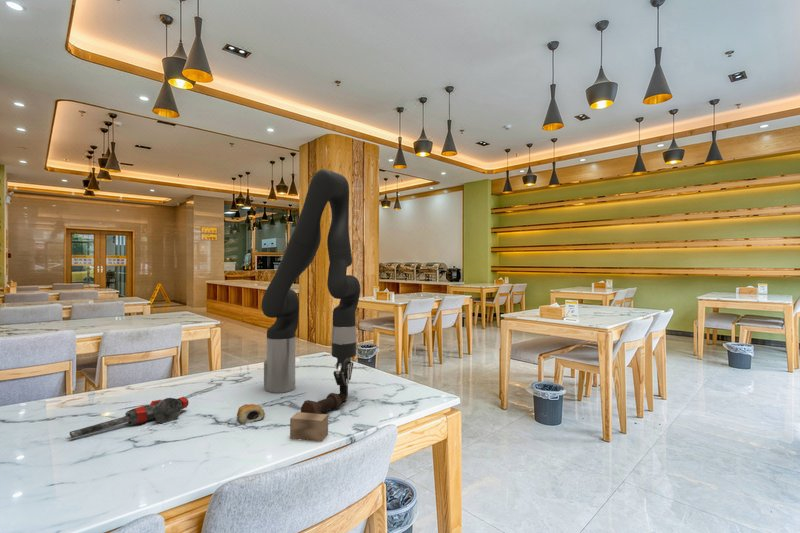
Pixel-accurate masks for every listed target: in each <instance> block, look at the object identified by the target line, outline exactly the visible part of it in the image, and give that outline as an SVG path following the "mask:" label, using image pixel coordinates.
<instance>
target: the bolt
mask: <svg viewBox="0 0 800 533" xmlns="http://www.w3.org/2000/svg"><path fill="white" fill-rule="evenodd" d="M347 399H348V396H347V397H346V396H345V395H344V394H343V393H340V392H339V393H336V392H335V393H334V392H331V393H329V394H328V395H327V396H326V398H324V399H321V400H319V401H314V400H310V399H309V400H308V399H307V400H305V401H304V402H303V403H302V405H301V407H300V412H301V413H315V414H323V413H324V412H327V411H329V410H332V411H337V410H339V409H340V408H341V405H344V404H346V402H347Z"/></svg>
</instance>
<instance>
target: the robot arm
mask: <svg viewBox="0 0 800 533" xmlns="http://www.w3.org/2000/svg"><path fill="white" fill-rule="evenodd" d="M328 203H329V207H330V210H331V211H330V212H331V220H330V226H329V229H328V234H327V241H326V243H327V244H326V245H327V252H328V253H327V254H328V261H329V266H328V272H327V284H326V285H327V290H328V293H329V294H330V296H331V297H332V298H333V299H336V300H339V304H337V306H335V307H334V308H333V310H332V328H331V357H333V358H335V359H337V361H336V363H335V369H336V370H334V371H333V378H334V379H335V380H334V381H335V384H336V385H337V386H339V393H343V394H344V395H345V396H346V397H347V398H348V396H349V383H350V381H351V380H352V375H353V374H352V373H353V368H354V362H353V361H352V358H354V357H356V355H357V328H356V326H357V325H356V324H357V323H356V321H357V318H356V316H357V315H356V312H357V308H358V304H359V300H360V296H361V284H360V280H359V279H358V278H357V277H356V276H354V275H351V274H347V270H348V268H349V267H350V266H351V265H352V264H353V256H352V255H353V254H352V249H351V247H352V246H351V241H350V240H351V239H350V238H351V237H350V226H349V224H350V223H349V219H350V218H349V216H350V214H349V213H350V207H349V206H350V186H349V182H348V180H347V178H346V177H345V176H344V175H342V174H341V173H338V172H336V171H335V172H334V171H332V170H329V169H326V168H322V169H319V170H318V171H316V172H315V173H314V175H313V176H312V178H311V180H310V183H309V186H308V189H307V193H306V195H305V198H304V202H303V206H302V209H301V211H300V214H299V217H298V219H297V221H296V224H295V227H294V229H293V231H292V234H291V236H290V238H289V240H288V243H287V246H286V249H285V251H284V253H283V256H282V258H281V260H280V263H279V265H278V267H277V269H276V272H275V273H274V275H273V277H272V278H271V281H270V283H269V284H268V286H267V288H266V289H265V292H264V294H263V295H262V299H261V305H260V306H261V311H262V313H263V315H264V316H265V317H267V318H271V319H272V318H273V319H274V318H275V321H274V323H273V324H272V325H271V326H269V327H268V329H267V330H266V360H264V362H263V391H266V392H269V393H275V394H277V393H287V392H291V391H293V390H295V389H296V333H297V330H298V328H299V327H298V326H299V316H300V314H299V312H300V301H299V295H298V294H297V292H296V291H295V290H293V289H291V287H292V285H293V284H294V283H295V281H296V280H297V279H298V278H299V277H301V276H300V275H302V274H303V273H304V272H305V271H306V270H307V268H308V267H309V266H310V265H311V263H313V261H314V258H315V257H316V255H317V252H318V251H319V250H318V249H319V248H320V245H321V242H322V241H321V240H322V233H321V232H322V231H321V228H322V227H321V220H322V219H321V218H322V215H323V212H324V211H325V209H326V205H327V204H328Z"/></svg>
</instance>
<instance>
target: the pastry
mask: <svg viewBox="0 0 800 533" xmlns="http://www.w3.org/2000/svg"><path fill="white" fill-rule="evenodd" d="M265 414H266V413H265V410H264V409H263V408H262V407H261V406H260V404H255V403H248V404H243V405H241V406H239V407H238V410H237V412H236V417H237V418H238V421H239V423H240V424H251V423H254V422H259V421H261V420H263V419H264V417H265ZM262 418H263V419H262Z"/></svg>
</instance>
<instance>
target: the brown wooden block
mask: <svg viewBox="0 0 800 533" xmlns="http://www.w3.org/2000/svg"><path fill="white" fill-rule="evenodd" d="M289 428H290V429H289V440H298V439H301V440H302V441H310V442H311V441H313V442H320V443H321V442H323V441H324V440H325V439H326V438H327V436H328V435H329V414H327V413H326V414H325V413H320V414H315V413H301V411H300V412H299V411H298V412H296V413H294V415H292V416H291V417H290V418H289ZM301 440H300V441H301Z"/></svg>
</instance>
